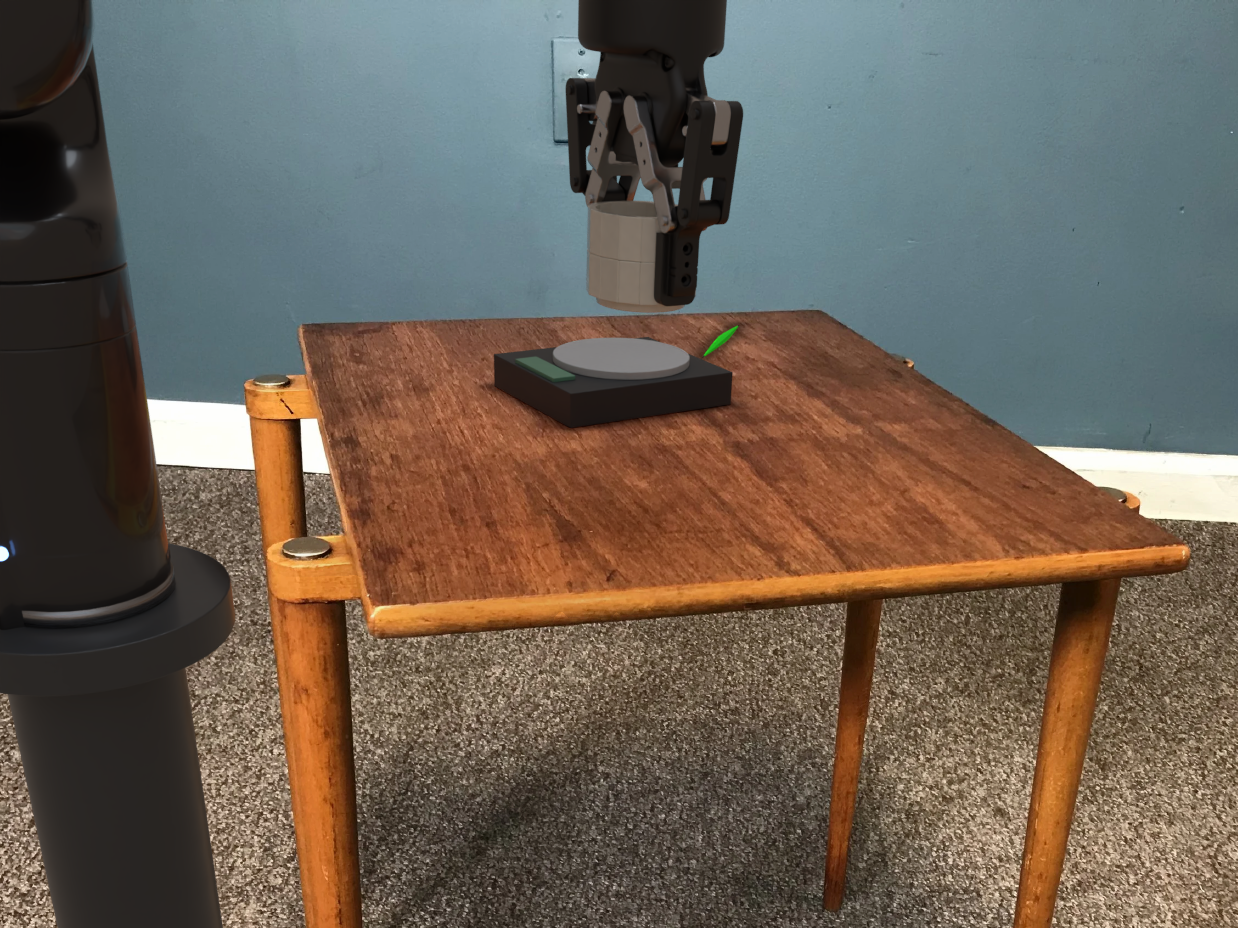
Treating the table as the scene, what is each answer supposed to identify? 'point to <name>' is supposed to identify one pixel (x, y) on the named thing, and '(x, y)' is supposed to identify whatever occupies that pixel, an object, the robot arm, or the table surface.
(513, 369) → the scale
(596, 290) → the white cup
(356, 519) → the table surface
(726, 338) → the leaf
